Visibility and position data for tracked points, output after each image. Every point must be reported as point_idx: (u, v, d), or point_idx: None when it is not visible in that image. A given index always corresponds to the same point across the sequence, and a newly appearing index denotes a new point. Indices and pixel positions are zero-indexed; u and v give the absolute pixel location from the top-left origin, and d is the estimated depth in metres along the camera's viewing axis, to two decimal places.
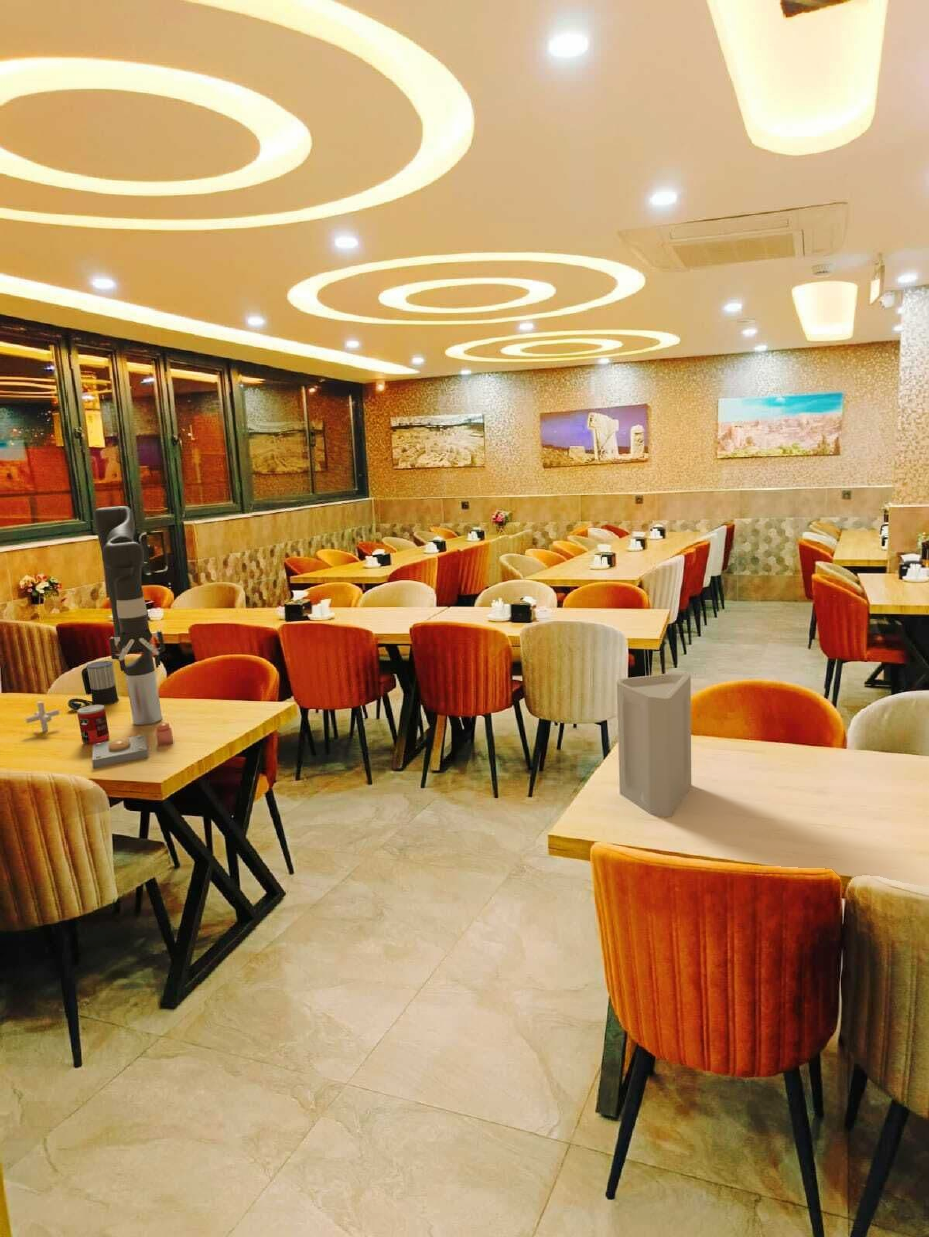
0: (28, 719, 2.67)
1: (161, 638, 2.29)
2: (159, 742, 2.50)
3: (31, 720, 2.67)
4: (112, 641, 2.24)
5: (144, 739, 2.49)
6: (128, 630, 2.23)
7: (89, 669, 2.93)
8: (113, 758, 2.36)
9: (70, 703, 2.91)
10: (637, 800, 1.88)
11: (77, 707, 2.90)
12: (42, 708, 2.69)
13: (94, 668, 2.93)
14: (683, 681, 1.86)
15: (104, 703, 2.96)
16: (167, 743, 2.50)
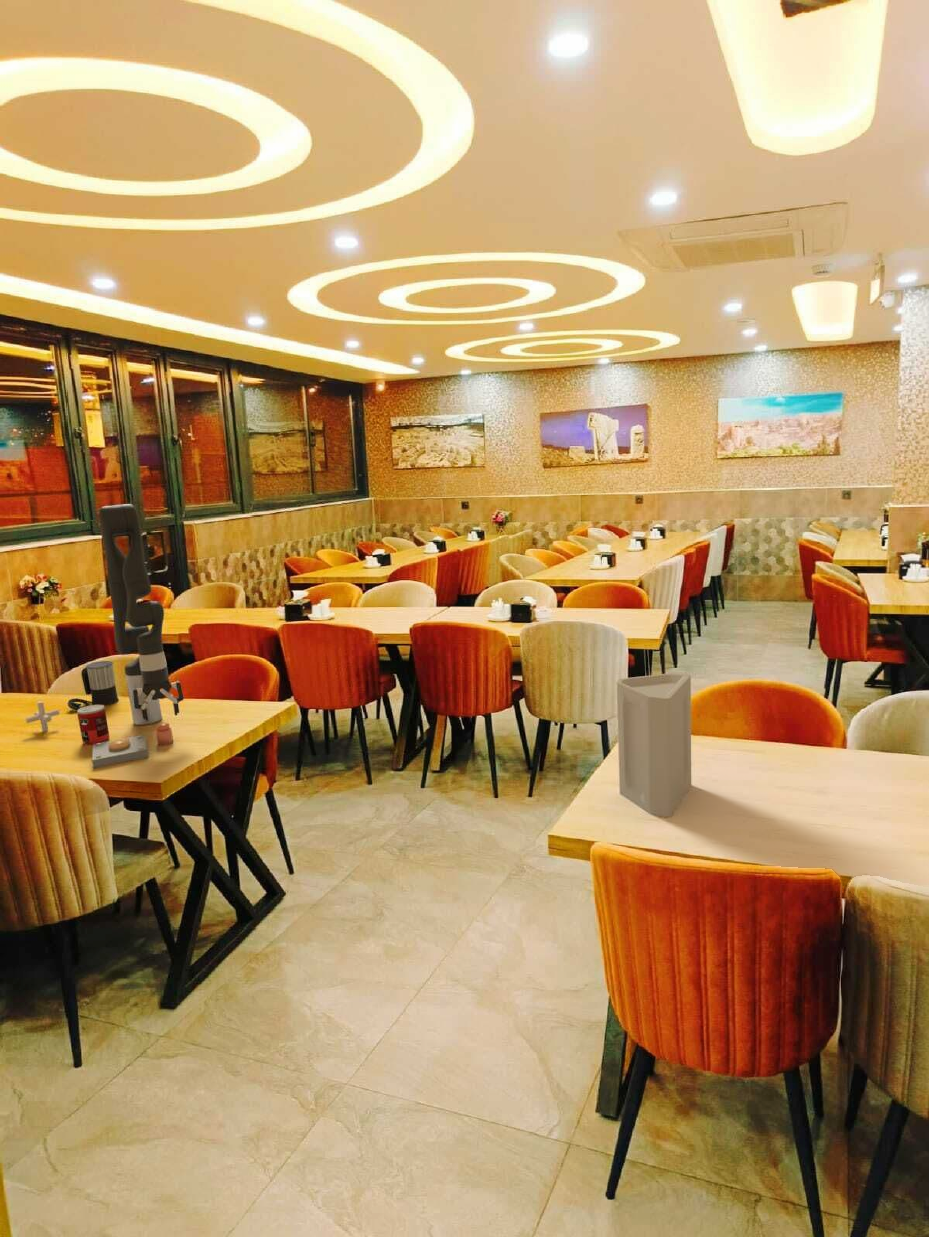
0: (28, 719, 2.67)
1: (180, 688, 2.49)
2: (159, 742, 2.50)
3: (31, 720, 2.67)
4: (135, 692, 2.44)
5: (144, 739, 2.49)
6: (150, 682, 2.44)
7: (89, 669, 2.93)
8: (113, 758, 2.36)
9: (70, 703, 2.91)
10: (637, 800, 1.88)
11: (77, 707, 2.90)
12: (42, 708, 2.69)
13: (94, 668, 2.92)
14: (683, 681, 1.86)
15: (104, 703, 2.95)
16: (167, 743, 2.50)
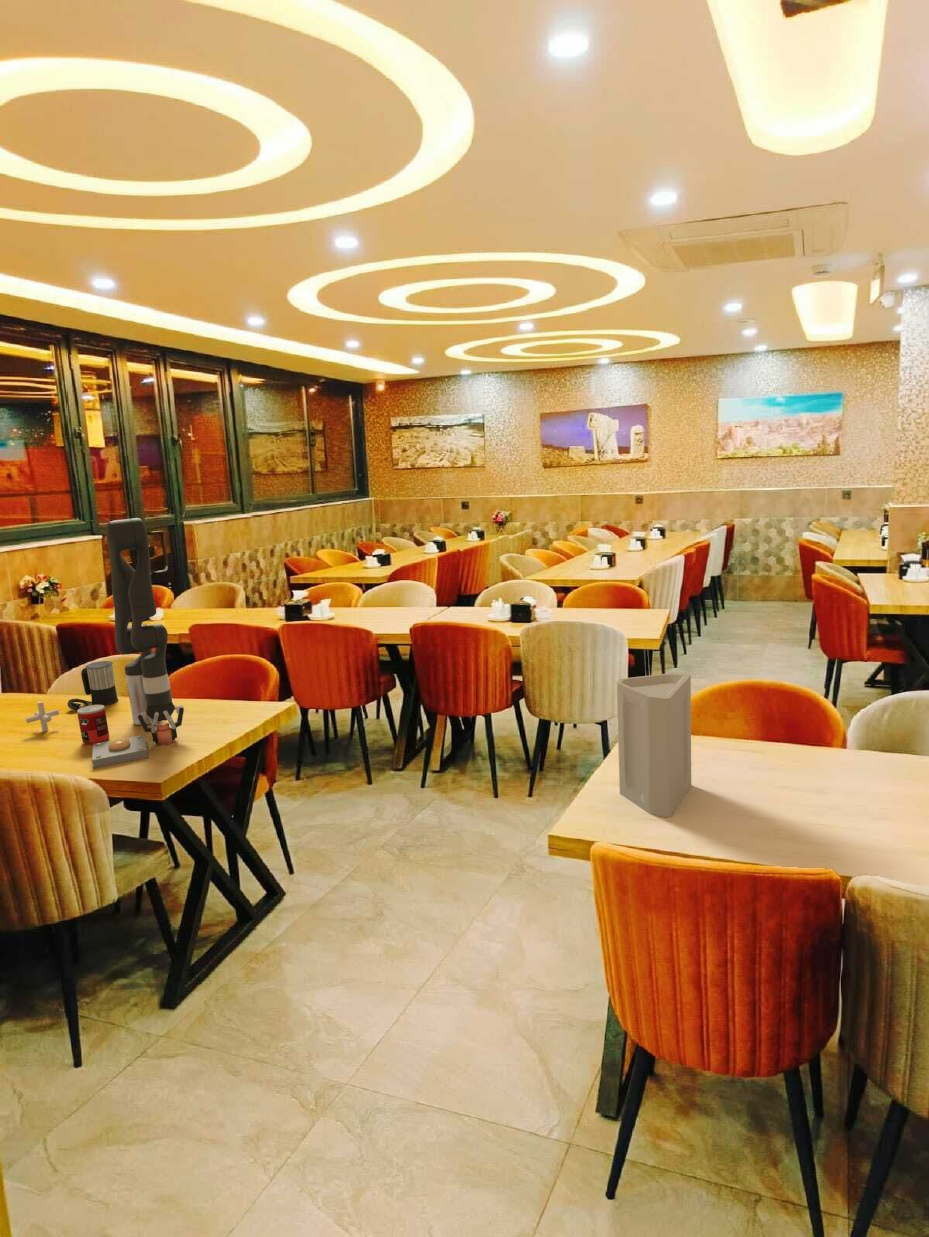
0: (28, 719, 2.67)
1: (181, 713, 2.51)
2: (159, 742, 2.50)
3: (31, 720, 2.67)
4: (140, 717, 2.46)
5: (144, 739, 2.49)
6: (153, 704, 2.45)
7: (88, 669, 2.93)
8: (113, 758, 2.36)
9: (69, 703, 2.91)
10: (637, 800, 1.88)
11: (76, 707, 2.90)
12: (42, 708, 2.69)
13: (93, 668, 2.92)
14: (683, 681, 1.86)
15: (103, 703, 2.95)
16: (167, 743, 2.50)
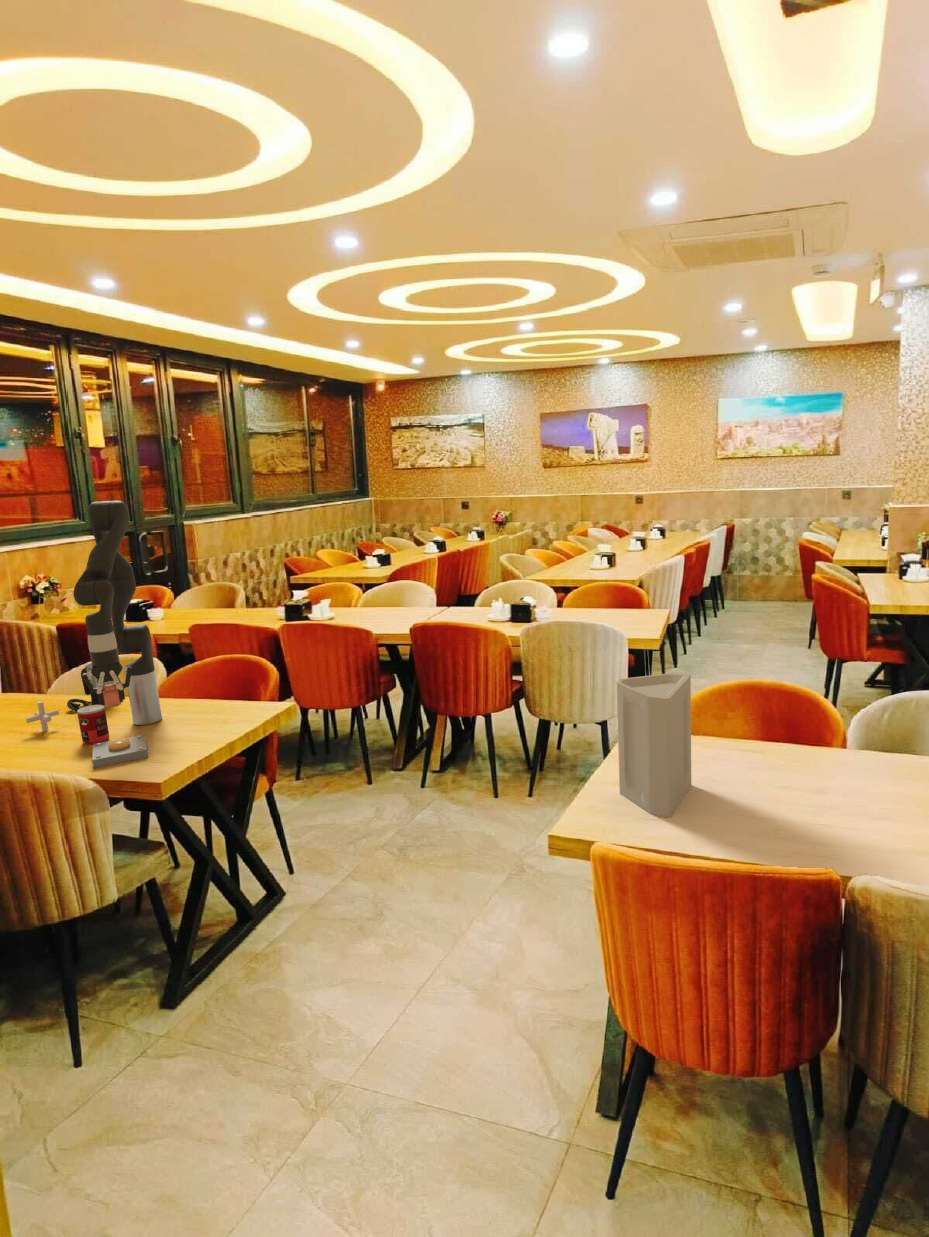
0: (28, 719, 2.67)
1: (129, 674, 2.40)
2: (105, 704, 2.39)
3: (31, 720, 2.67)
4: (85, 677, 2.35)
5: (144, 739, 2.49)
6: (99, 663, 2.34)
7: (88, 669, 2.93)
8: (113, 758, 2.36)
9: (69, 703, 2.91)
10: (637, 800, 1.88)
11: (76, 707, 2.90)
12: (42, 708, 2.69)
13: None
14: (683, 681, 1.86)
15: None
16: (114, 705, 2.39)
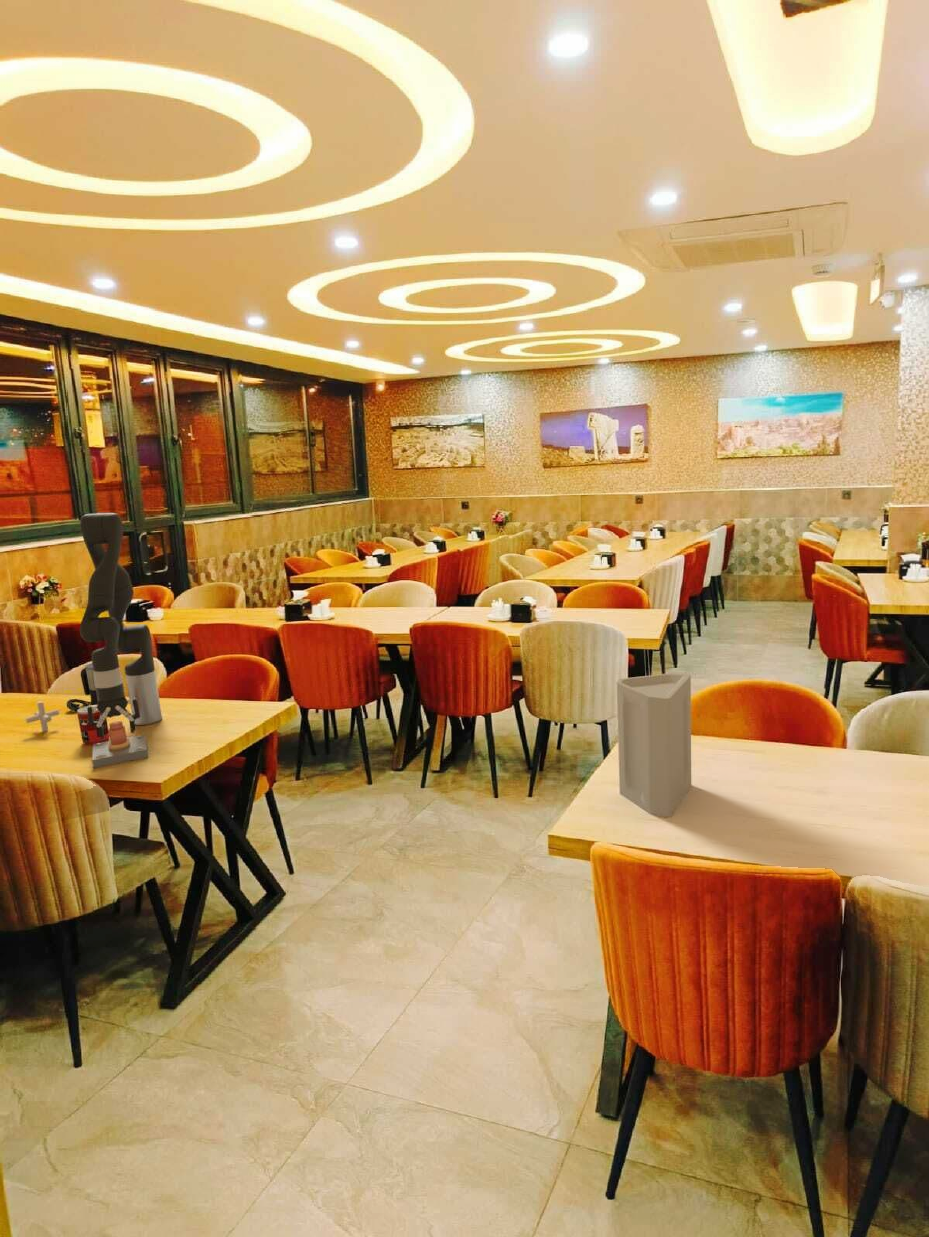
0: (28, 719, 2.67)
1: (136, 705, 2.42)
2: (112, 741, 2.41)
3: (31, 720, 2.67)
4: (90, 710, 2.37)
5: (144, 739, 2.49)
6: (104, 699, 2.36)
7: (88, 670, 2.93)
8: (113, 758, 2.36)
9: (69, 704, 2.91)
10: (637, 800, 1.88)
11: (75, 708, 2.90)
12: (42, 708, 2.69)
13: None
14: (683, 681, 1.86)
15: None
16: (120, 742, 2.41)
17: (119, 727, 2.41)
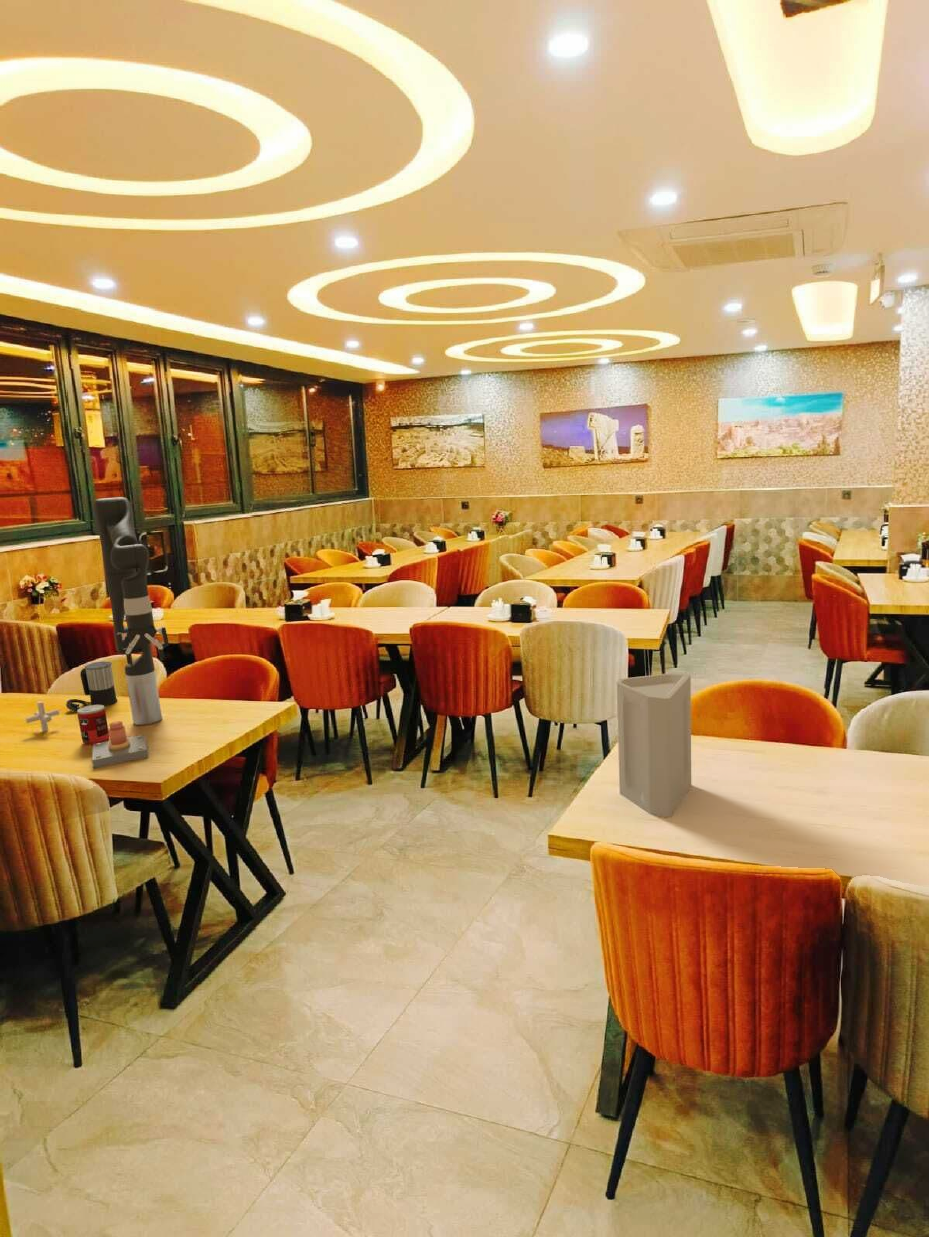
0: (28, 719, 2.67)
1: (165, 634, 2.45)
2: (112, 741, 2.41)
3: (31, 720, 2.67)
4: (119, 636, 2.41)
5: (144, 739, 2.49)
6: (134, 626, 2.40)
7: (87, 670, 2.92)
8: (113, 758, 2.36)
9: (68, 704, 2.91)
10: (637, 800, 1.88)
11: (75, 708, 2.89)
12: (42, 708, 2.69)
13: (92, 669, 2.92)
14: (683, 681, 1.86)
15: (102, 704, 2.95)
16: (120, 742, 2.41)
17: (119, 727, 2.41)
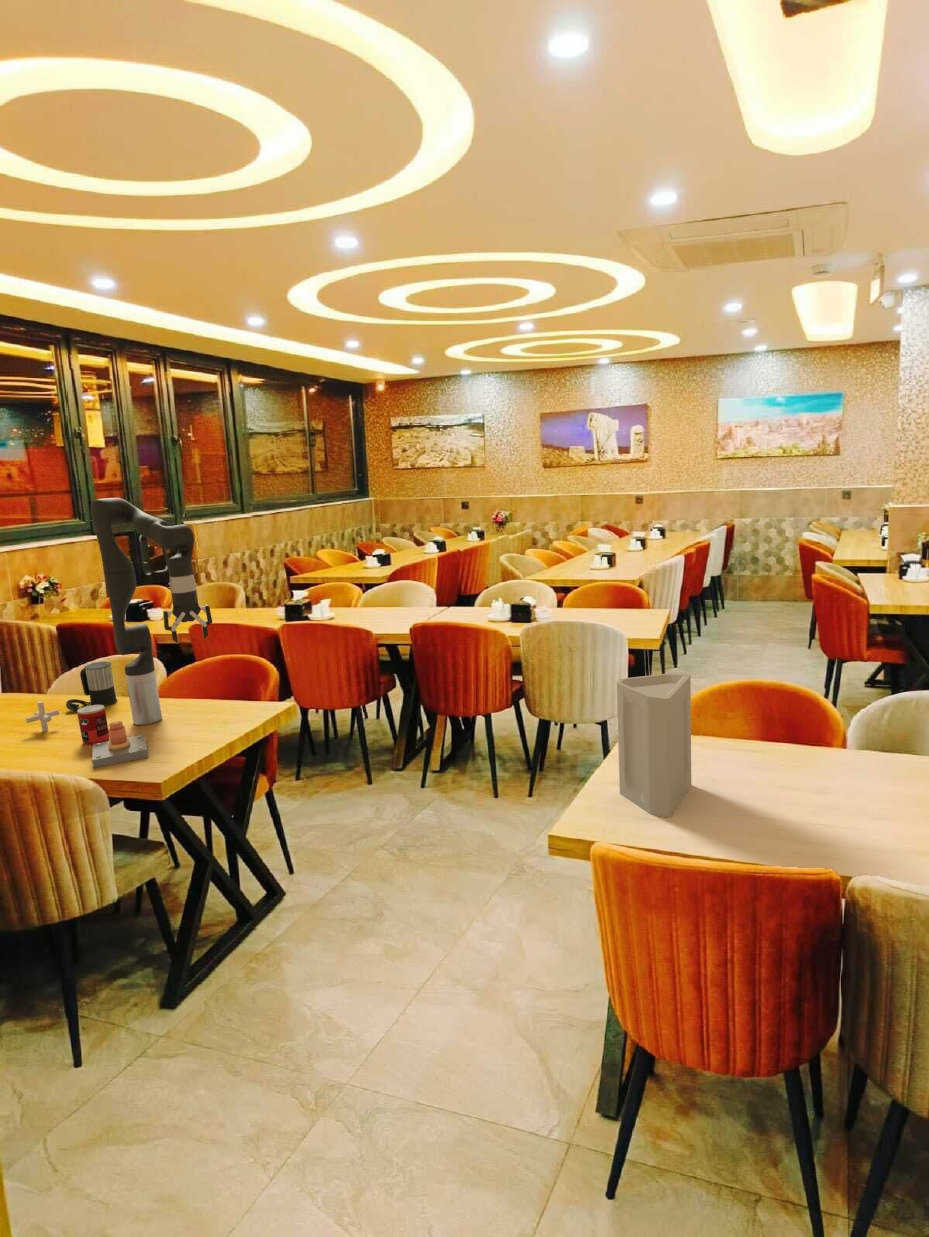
0: (28, 719, 2.67)
1: (209, 612, 2.54)
2: (112, 741, 2.41)
3: (31, 720, 2.67)
4: (166, 614, 2.49)
5: (144, 739, 2.49)
6: (180, 603, 2.48)
7: (87, 670, 2.92)
8: (113, 758, 2.36)
9: (68, 704, 2.91)
10: (637, 800, 1.88)
11: (75, 708, 2.89)
12: (42, 708, 2.69)
13: (92, 669, 2.91)
14: (683, 681, 1.86)
15: (102, 704, 2.94)
16: (120, 742, 2.41)
17: (119, 727, 2.41)
